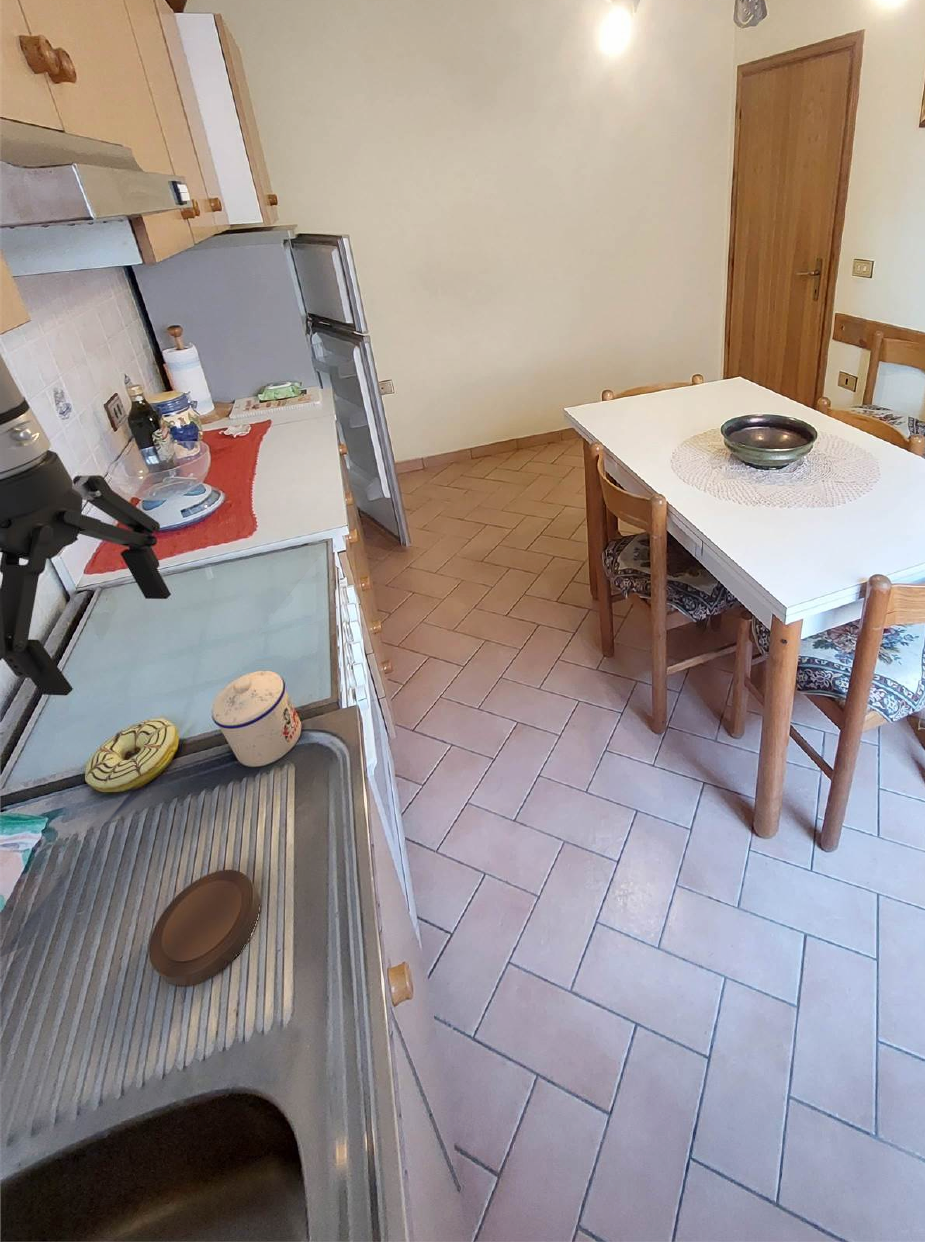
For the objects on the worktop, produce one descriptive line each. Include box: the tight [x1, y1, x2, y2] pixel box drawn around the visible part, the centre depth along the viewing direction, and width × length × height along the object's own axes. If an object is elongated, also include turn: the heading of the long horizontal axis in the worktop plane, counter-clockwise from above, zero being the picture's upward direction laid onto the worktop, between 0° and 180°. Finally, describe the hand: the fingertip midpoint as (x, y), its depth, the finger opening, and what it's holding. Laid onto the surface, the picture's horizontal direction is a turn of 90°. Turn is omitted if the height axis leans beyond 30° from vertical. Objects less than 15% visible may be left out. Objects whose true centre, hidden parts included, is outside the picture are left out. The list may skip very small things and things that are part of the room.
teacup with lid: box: [211, 670, 302, 768], centre depth 85 cm, size 12×9×12 cm
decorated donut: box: [84, 717, 180, 793], centre depth 85 cm, size 10×11×4 cm
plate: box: [148, 869, 261, 988], centre depth 66 cm, size 10×10×2 cm
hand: (112, 640), depth 65 cm, fingers open, 13 cm apart
